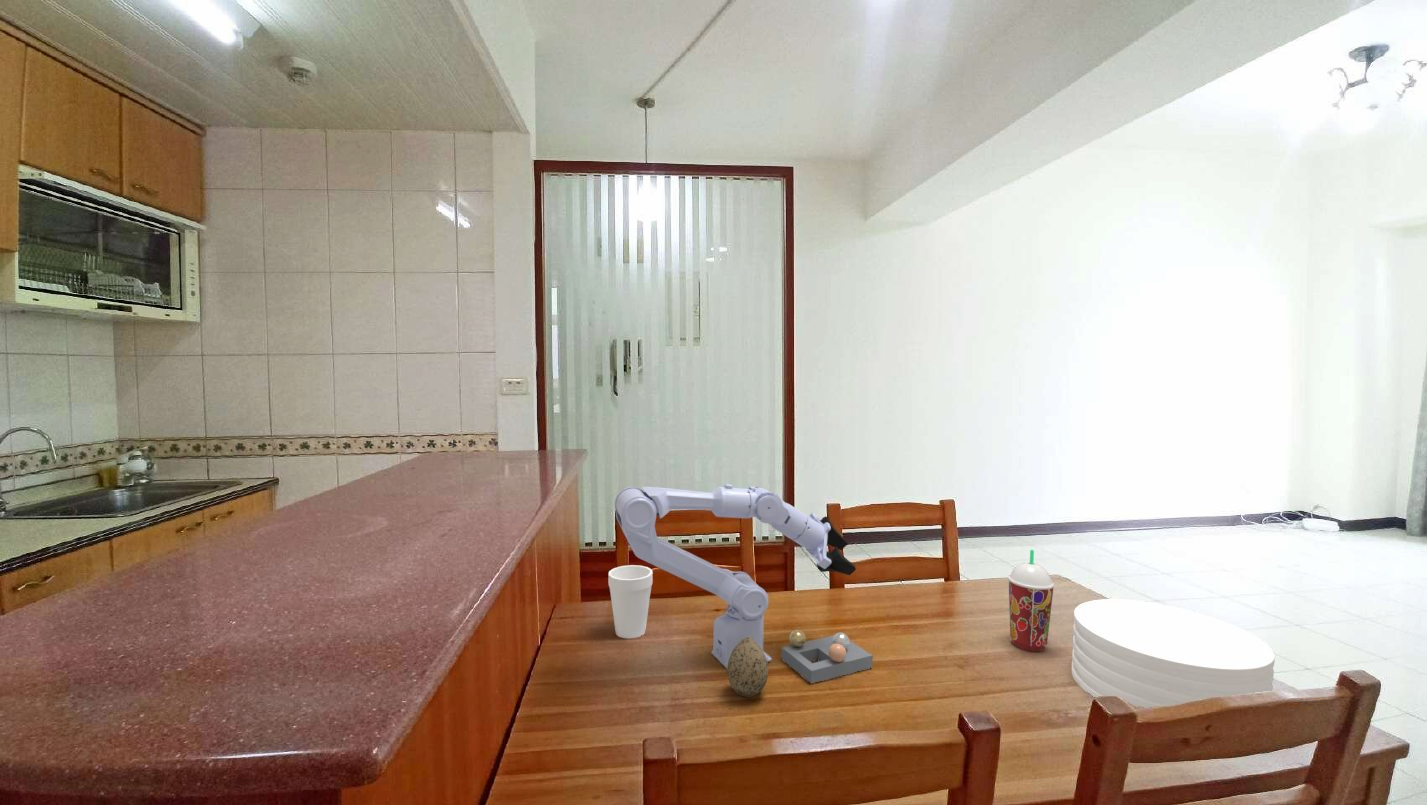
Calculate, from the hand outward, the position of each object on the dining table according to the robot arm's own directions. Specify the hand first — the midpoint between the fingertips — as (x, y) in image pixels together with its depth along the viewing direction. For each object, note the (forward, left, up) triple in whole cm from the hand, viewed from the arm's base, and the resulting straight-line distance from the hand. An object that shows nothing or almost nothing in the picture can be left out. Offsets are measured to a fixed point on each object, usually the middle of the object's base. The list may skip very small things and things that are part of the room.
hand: (848, 558), depth 123 cm
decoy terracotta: (-10, -9, -14) cm, 19 cm away
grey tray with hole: (-9, -5, -18) cm, 21 cm away
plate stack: (+40, -38, -18) cm, 58 cm away
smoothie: (+34, -16, -18) cm, 42 cm away
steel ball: (-6, -6, -14) cm, 16 cm away
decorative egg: (-28, -8, -18) cm, 35 cm away
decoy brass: (-13, -1, -14) cm, 19 cm away
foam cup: (-39, +24, -18) cm, 49 cm away
